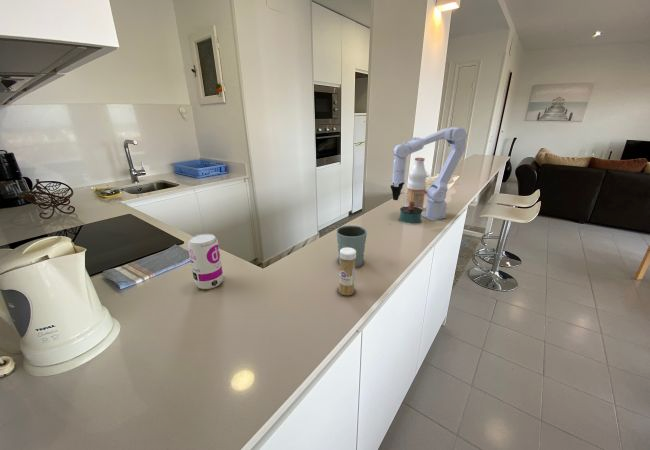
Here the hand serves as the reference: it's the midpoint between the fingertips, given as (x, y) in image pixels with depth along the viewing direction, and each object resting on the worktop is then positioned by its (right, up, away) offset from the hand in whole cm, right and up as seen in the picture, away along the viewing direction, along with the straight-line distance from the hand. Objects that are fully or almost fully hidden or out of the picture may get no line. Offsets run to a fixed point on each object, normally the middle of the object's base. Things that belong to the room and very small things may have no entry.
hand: (396, 198), depth 138 cm
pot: (+7, -11, -1) cm, 13 cm away
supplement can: (-71, -32, -52) cm, 94 cm away
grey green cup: (-27, -27, -40) cm, 55 cm away
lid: (+7, -6, -2) cm, 10 cm away
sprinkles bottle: (-29, -33, -56) cm, 72 cm away
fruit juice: (+14, -5, +17) cm, 23 cm away
